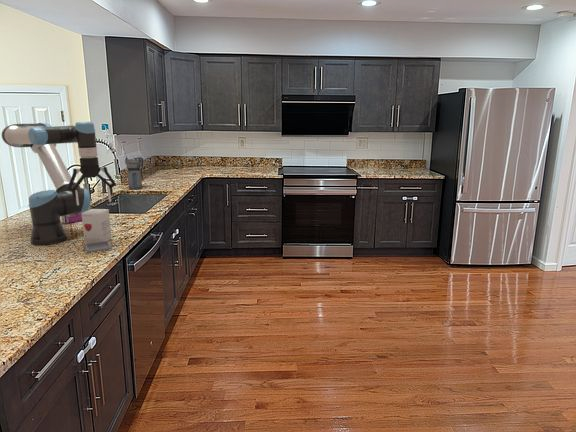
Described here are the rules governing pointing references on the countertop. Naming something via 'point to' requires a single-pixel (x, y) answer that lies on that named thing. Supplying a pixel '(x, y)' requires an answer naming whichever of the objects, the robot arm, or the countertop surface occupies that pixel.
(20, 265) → the countertop surface
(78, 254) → the countertop surface
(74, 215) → the candy bar box
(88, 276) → the countertop surface
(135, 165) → the gray tapered canister
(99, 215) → the supplement box
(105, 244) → the slate coaster
